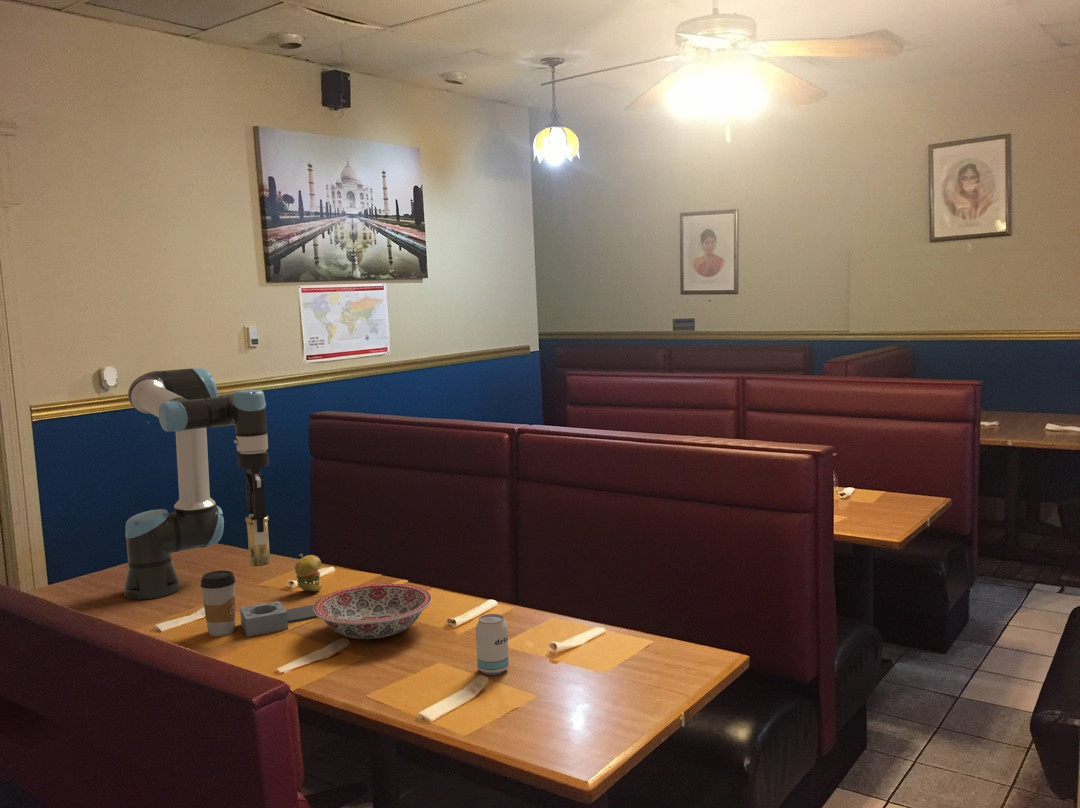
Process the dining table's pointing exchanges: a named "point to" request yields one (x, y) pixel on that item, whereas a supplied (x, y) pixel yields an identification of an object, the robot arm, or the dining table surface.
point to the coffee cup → (219, 602)
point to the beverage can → (492, 644)
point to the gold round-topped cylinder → (257, 553)
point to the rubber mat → (300, 614)
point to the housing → (263, 618)
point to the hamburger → (308, 572)
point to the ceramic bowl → (372, 609)
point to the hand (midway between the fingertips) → (258, 541)
